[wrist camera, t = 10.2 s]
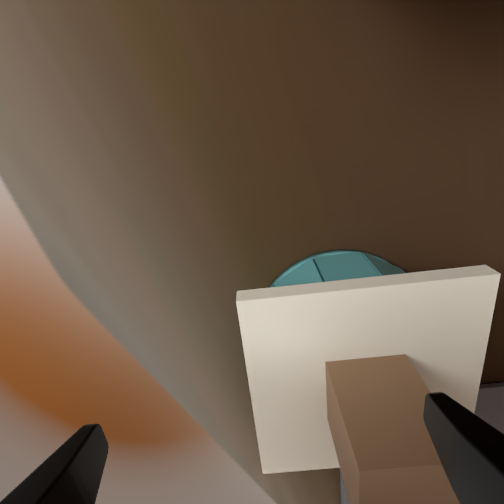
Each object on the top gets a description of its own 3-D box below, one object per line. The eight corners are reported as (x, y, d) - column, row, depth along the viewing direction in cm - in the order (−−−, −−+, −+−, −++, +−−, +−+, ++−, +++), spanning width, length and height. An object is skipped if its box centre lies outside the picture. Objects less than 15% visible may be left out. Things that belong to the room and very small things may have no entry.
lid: (485, 264, 15) (637, 356, 9) (455, 441, 20) (545, 580, 14) (236, 291, 16) (228, 394, 10) (262, 457, 20) (267, 599, 14)
